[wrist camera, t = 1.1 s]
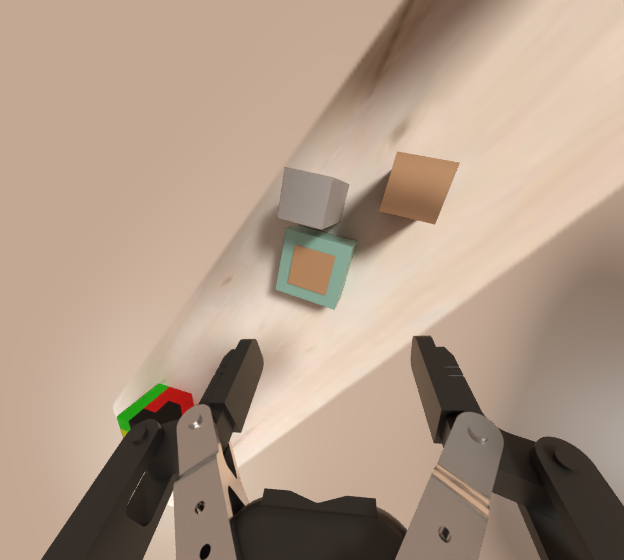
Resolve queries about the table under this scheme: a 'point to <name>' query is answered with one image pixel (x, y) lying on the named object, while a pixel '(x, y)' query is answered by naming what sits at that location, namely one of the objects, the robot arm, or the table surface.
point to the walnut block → (418, 187)
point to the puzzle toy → (156, 407)
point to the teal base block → (314, 265)
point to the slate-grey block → (311, 198)
